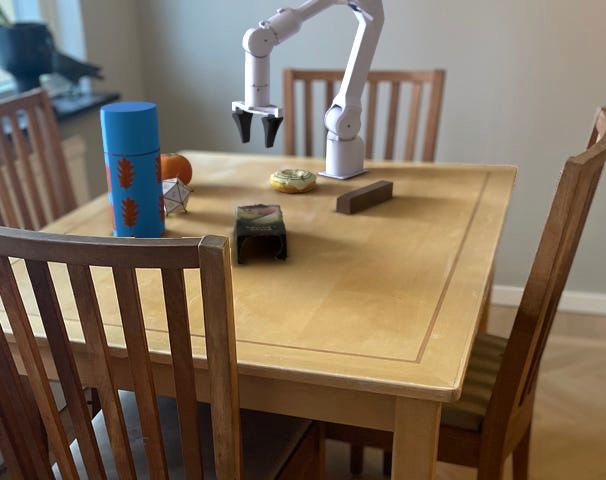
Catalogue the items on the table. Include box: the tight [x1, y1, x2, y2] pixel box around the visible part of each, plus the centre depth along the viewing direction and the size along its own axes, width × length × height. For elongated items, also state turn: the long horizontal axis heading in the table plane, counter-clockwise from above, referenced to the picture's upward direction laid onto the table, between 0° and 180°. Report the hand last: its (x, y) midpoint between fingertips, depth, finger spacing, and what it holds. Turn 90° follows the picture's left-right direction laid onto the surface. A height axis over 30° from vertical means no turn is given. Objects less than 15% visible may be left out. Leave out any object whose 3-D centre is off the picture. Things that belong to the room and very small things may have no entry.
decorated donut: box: [269, 168, 318, 194], centre depth 186 cm, size 10×11×4 cm
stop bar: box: [335, 179, 394, 215], centre depth 174 cm, size 16×4×4 cm, turn 136°
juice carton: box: [232, 203, 289, 265], centre depth 152 cm, size 20×10×6 cm, turn 1°
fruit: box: [161, 152, 193, 187], centre depth 189 cm, size 11×10×8 cm
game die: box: [162, 174, 195, 219], centre depth 171 cm, size 9×8×10 cm
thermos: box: [100, 101, 166, 239], centre depth 156 cm, size 11×11×25 cm
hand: (257, 145), depth 190 cm, fingers open, 7 cm apart
